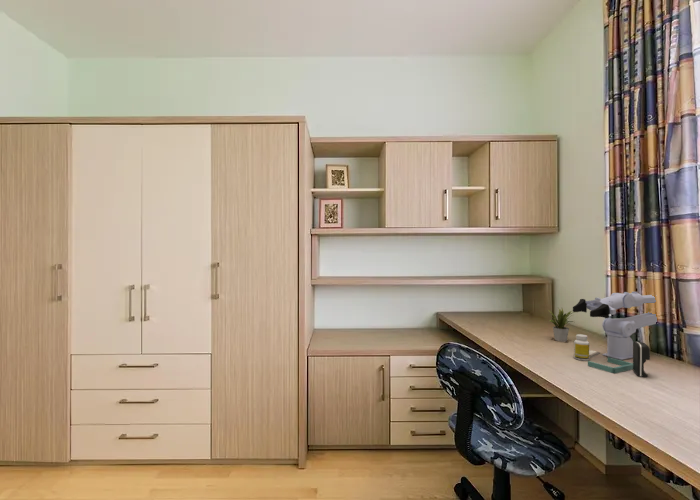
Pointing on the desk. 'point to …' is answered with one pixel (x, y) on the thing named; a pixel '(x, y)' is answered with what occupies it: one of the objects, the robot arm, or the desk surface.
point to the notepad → (593, 353)
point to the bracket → (624, 367)
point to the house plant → (560, 326)
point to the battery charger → (640, 357)
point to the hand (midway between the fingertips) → (581, 311)
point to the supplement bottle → (581, 348)
